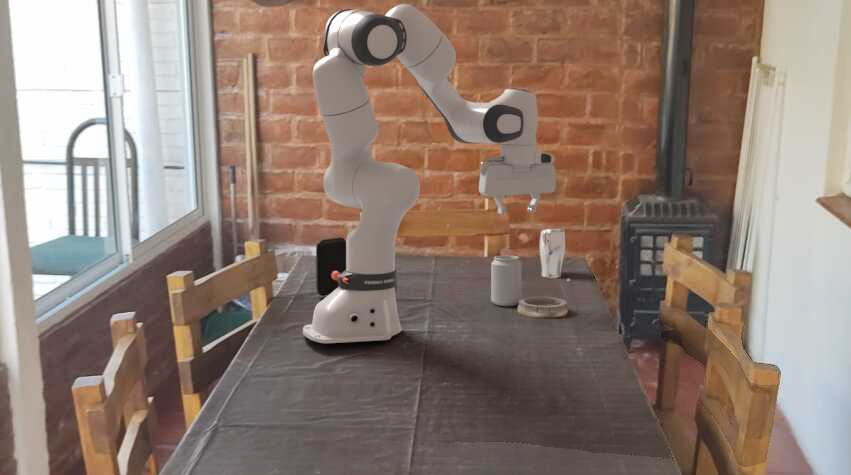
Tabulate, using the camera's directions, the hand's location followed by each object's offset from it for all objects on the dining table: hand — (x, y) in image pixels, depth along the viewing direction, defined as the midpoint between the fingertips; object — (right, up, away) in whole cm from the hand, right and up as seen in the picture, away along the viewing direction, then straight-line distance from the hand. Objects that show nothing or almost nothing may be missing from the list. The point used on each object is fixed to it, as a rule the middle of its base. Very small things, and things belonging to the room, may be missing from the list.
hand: (517, 212), depth 222 cm
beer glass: (+13, -19, +30) cm, 38 cm away
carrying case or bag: (-46, -21, +14) cm, 53 cm away
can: (-2, -23, +5) cm, 24 cm away
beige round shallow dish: (+6, -24, -3) cm, 25 cm away
